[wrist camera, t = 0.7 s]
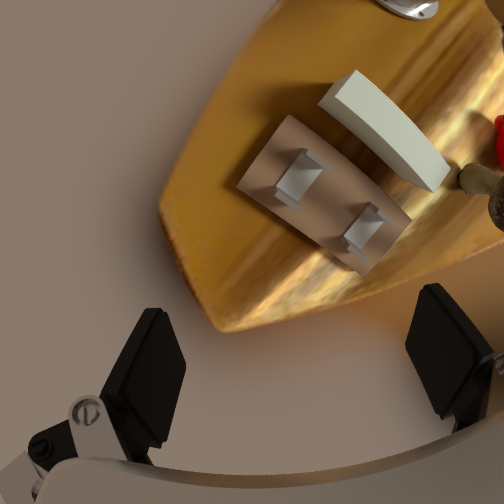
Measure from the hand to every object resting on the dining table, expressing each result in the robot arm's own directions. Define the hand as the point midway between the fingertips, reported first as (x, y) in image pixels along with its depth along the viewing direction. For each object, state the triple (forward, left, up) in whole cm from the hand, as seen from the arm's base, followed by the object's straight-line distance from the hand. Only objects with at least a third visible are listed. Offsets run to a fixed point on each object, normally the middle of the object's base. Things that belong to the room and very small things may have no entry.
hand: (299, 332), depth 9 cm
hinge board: (-3, +6, -24) cm, 25 cm away
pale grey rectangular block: (-13, +5, -25) cm, 28 cm away
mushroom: (-19, +20, -25) cm, 37 cm away
